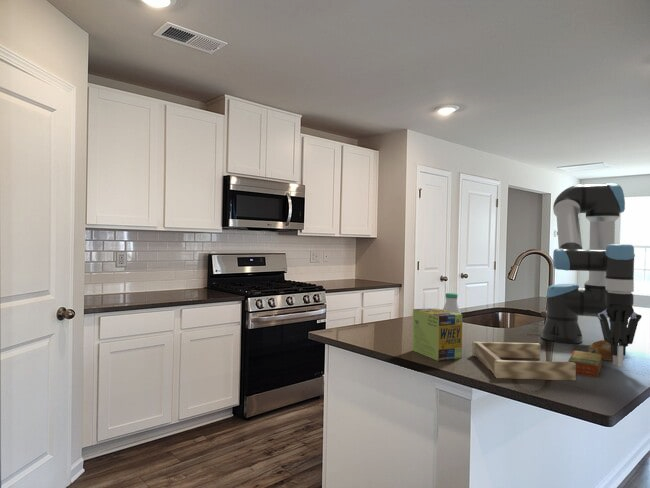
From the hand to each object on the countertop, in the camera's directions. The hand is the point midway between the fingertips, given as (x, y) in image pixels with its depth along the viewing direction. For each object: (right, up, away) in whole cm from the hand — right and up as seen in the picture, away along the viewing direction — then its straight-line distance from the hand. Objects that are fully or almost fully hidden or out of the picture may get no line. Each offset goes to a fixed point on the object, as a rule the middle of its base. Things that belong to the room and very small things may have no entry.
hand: (617, 365), depth 138 cm
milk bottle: (-44, -1, +33) cm, 55 cm away
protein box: (-54, -1, +16) cm, 57 cm away
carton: (-10, -2, +1) cm, 10 cm away
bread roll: (+5, -2, +15) cm, 16 cm away
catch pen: (-31, -1, +2) cm, 31 cm away
